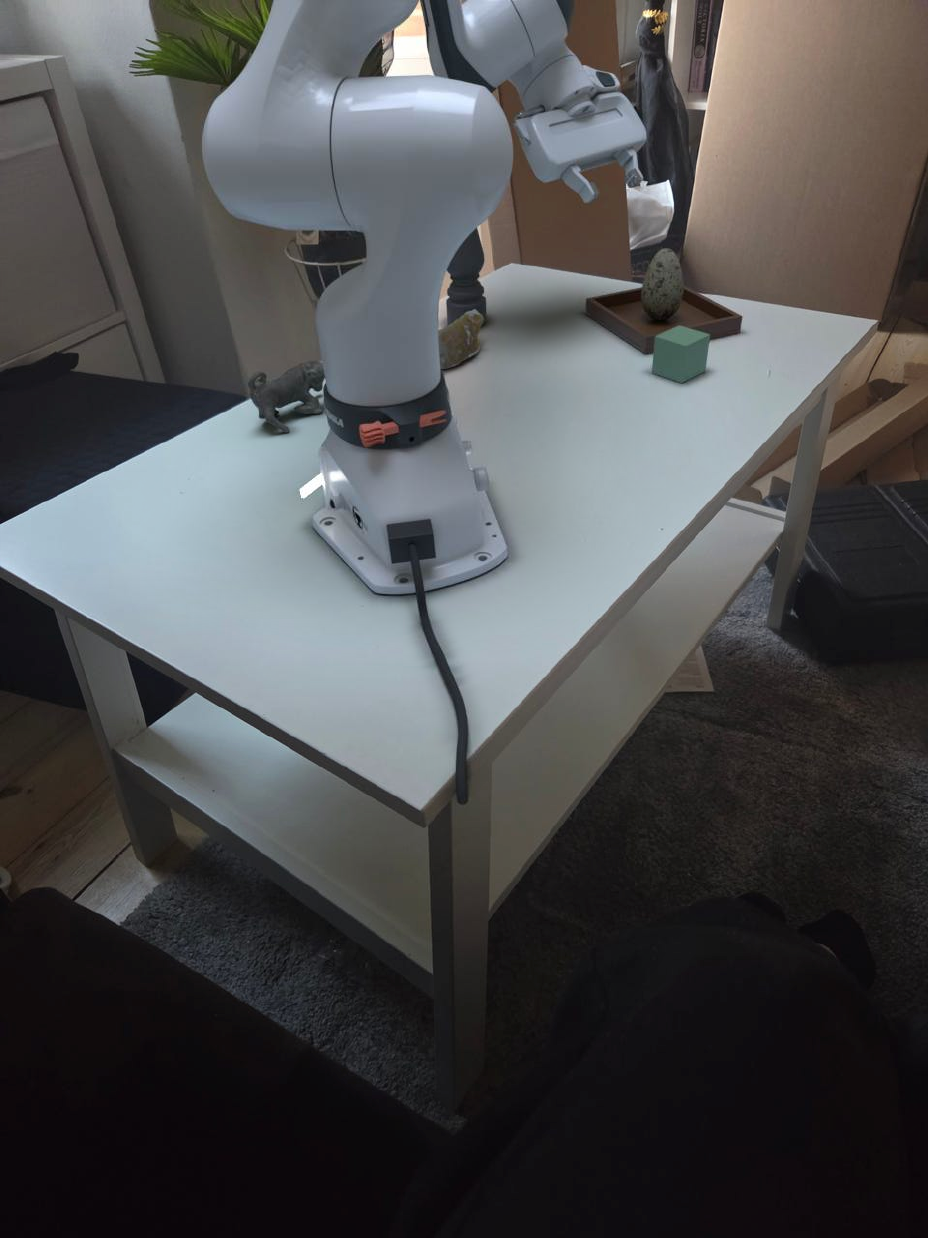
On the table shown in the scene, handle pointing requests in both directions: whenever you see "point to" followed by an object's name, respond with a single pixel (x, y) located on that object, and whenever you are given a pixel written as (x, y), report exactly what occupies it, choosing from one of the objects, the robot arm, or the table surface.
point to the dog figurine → (287, 391)
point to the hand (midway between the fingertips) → (615, 191)
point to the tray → (640, 330)
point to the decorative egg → (662, 286)
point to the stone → (459, 339)
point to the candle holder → (466, 280)
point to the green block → (680, 353)
